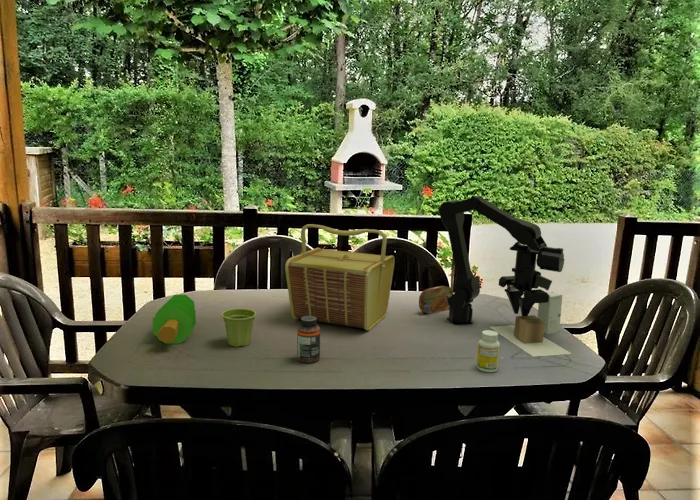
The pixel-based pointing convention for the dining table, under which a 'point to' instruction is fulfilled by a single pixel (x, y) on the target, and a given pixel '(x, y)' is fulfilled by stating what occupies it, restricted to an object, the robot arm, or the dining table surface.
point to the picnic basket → (340, 283)
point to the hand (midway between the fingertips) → (520, 316)
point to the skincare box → (551, 312)
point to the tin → (435, 299)
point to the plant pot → (238, 326)
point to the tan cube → (529, 329)
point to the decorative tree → (175, 320)
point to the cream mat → (531, 348)
